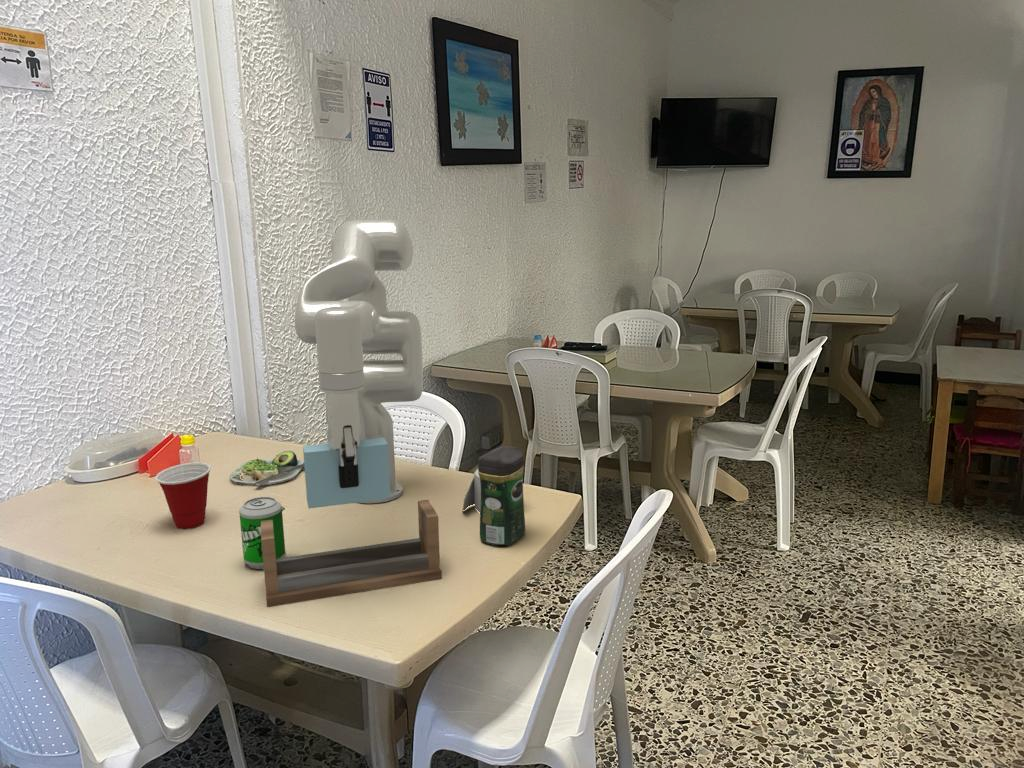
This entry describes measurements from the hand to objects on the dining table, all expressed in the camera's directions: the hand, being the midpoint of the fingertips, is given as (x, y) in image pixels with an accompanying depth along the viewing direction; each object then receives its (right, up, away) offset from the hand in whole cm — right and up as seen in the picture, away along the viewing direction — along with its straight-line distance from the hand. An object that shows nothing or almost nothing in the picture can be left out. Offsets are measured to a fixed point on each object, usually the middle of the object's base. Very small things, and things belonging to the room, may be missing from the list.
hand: (347, 481), depth 133 cm
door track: (0, -18, +4) cm, 18 cm away
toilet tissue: (+24, -11, +35) cm, 44 cm away
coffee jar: (+27, -14, +21) cm, 37 cm away
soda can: (-18, -17, +11) cm, 27 cm away
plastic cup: (-40, -13, +28) cm, 50 cm away
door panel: (0, -3, +1) cm, 3 cm away
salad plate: (-32, -6, +59) cm, 67 cm away
